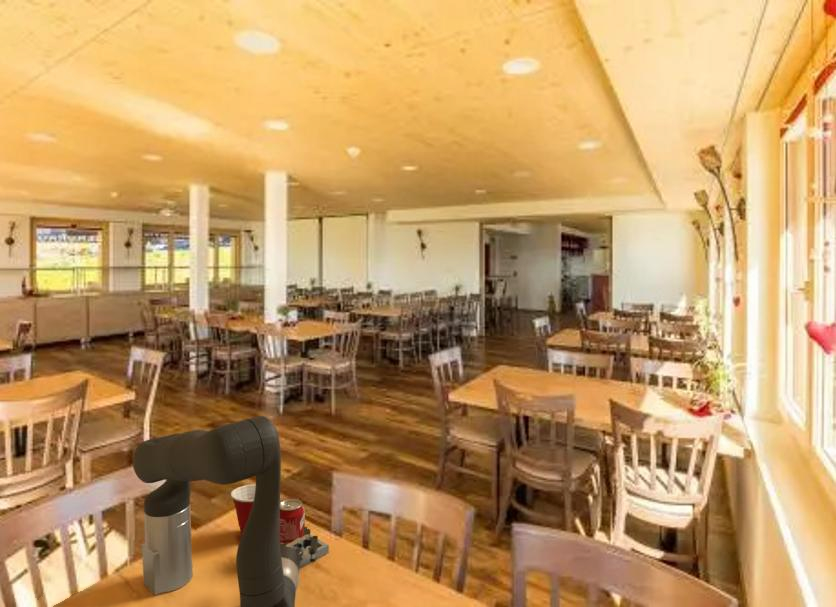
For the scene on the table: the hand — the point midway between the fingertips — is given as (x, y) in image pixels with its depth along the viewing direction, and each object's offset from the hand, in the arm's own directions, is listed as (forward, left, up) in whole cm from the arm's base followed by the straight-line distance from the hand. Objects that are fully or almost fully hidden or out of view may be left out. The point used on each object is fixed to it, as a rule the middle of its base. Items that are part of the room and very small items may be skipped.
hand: (286, 531), depth 116 cm
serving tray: (+6, +8, -11) cm, 15 cm away
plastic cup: (+5, +23, -12) cm, 26 cm away
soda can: (+6, +7, -10) cm, 14 cm away
